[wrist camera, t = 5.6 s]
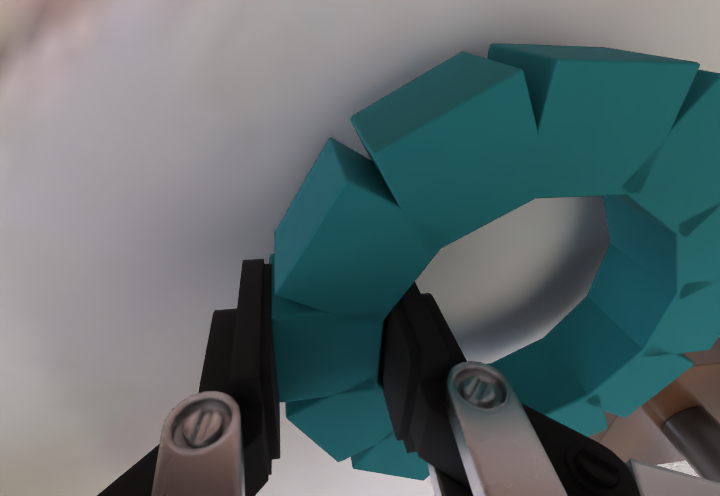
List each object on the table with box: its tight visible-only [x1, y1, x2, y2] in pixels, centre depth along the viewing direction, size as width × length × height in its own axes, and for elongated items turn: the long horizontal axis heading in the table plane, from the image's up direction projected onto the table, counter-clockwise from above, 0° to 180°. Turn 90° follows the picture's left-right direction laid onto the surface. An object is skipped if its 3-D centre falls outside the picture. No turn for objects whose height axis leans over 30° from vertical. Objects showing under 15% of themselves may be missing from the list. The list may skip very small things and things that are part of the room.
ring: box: [269, 43, 720, 480], centre depth 11 cm, size 13×13×3 cm
